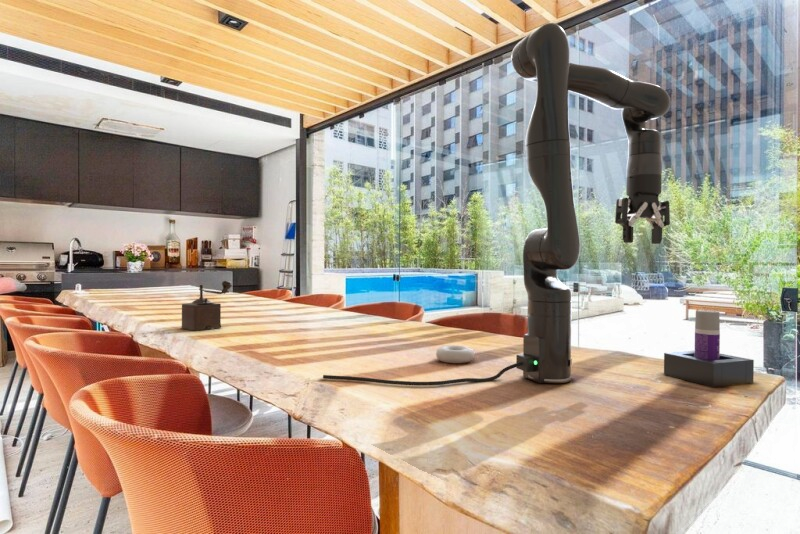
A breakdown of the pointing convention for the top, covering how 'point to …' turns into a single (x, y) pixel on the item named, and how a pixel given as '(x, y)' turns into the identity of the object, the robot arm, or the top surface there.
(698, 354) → the container
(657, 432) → the top surface
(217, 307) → the coffee grinder
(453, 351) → the donut
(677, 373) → the stand
